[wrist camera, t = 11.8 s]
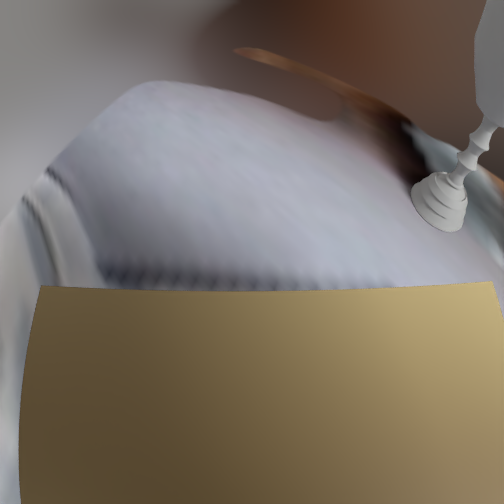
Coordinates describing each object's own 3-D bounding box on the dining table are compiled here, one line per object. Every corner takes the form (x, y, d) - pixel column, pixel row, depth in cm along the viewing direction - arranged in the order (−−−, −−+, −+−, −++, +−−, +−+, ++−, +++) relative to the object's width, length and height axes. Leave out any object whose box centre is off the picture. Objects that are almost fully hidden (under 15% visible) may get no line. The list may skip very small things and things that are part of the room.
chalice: (382, 190, 21) (472, -44, 6) (422, 162, 24) (498, -18, 8) (454, 260, 18) (601, 42, 3) (483, 218, 21) (589, 47, 6)
